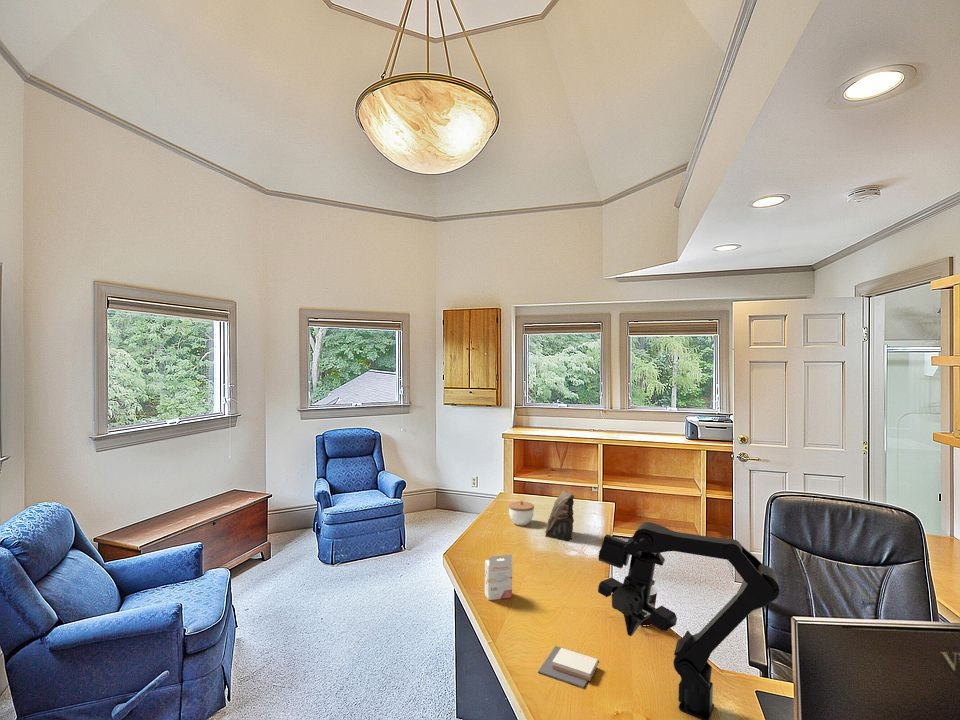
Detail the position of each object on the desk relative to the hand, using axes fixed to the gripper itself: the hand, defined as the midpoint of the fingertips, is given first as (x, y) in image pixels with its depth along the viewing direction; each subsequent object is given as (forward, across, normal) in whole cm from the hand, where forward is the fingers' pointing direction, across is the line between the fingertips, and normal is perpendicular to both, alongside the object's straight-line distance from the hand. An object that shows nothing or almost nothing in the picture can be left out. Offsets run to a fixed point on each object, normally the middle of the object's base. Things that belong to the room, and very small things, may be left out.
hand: (630, 635), depth 121 cm
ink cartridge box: (+20, -52, +8) cm, 56 cm away
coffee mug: (+13, -13, +30) cm, 36 cm away
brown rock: (+20, -76, +70) cm, 106 cm away
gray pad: (+15, -13, -5) cm, 20 cm away
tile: (+12, -6, -3) cm, 14 cm away
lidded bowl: (+24, -100, +69) cm, 124 cm away
